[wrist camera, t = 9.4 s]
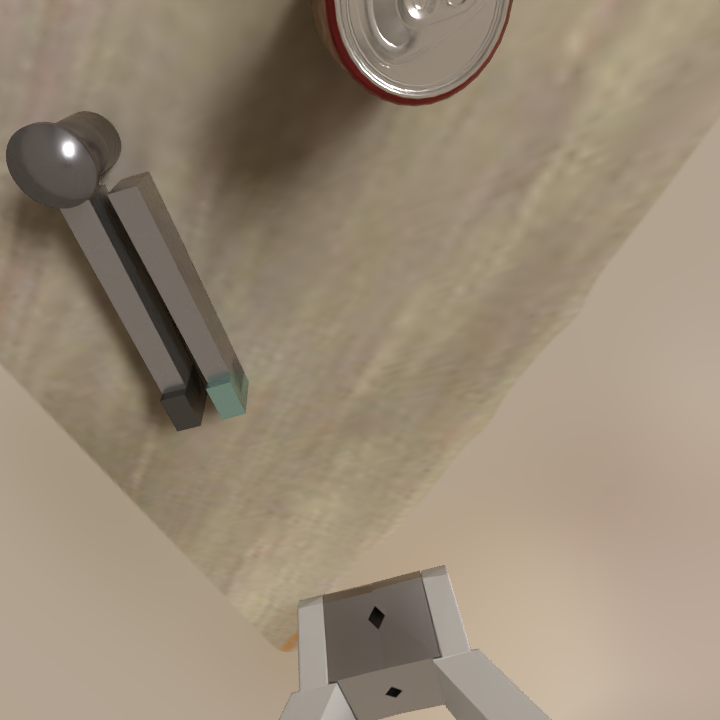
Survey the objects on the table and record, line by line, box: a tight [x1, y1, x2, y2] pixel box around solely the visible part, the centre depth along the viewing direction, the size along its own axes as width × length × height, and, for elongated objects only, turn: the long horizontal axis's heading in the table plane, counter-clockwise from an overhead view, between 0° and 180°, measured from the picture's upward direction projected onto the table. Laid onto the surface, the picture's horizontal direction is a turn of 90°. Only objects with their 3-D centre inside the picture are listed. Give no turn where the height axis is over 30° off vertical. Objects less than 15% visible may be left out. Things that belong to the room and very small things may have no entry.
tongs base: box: [6, 111, 207, 431], centre depth 33 cm, size 22×4×7 cm, turn 12°
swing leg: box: [107, 172, 249, 420], centre depth 36 cm, size 17×2×4 cm, turn 14°
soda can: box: [311, 0, 513, 106], centre depth 24 cm, size 7×7×12 cm
